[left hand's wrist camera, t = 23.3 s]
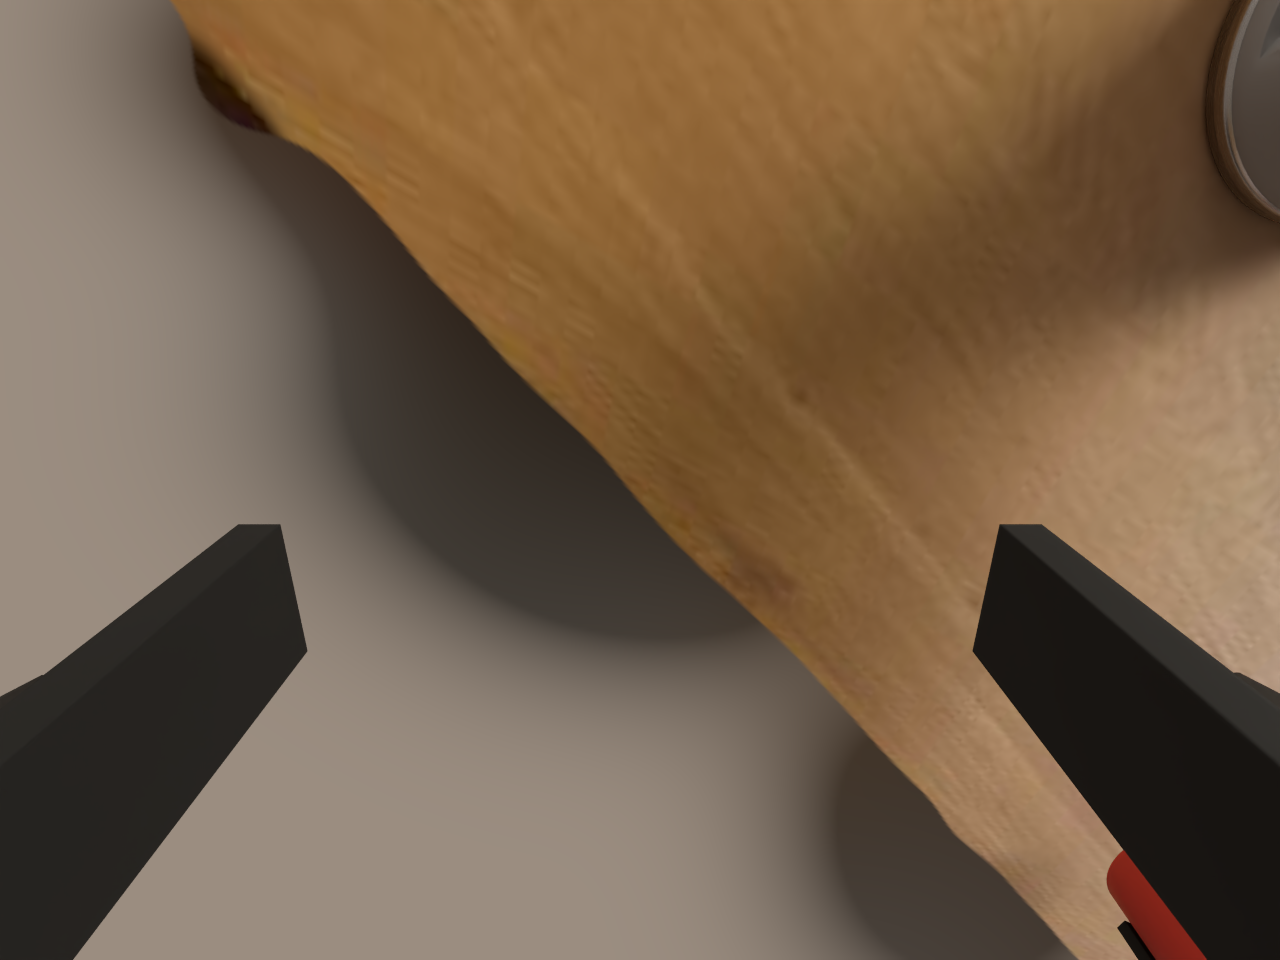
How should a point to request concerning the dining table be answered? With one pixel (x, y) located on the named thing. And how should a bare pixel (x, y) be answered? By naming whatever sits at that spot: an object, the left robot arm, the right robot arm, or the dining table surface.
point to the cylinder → (1149, 913)
